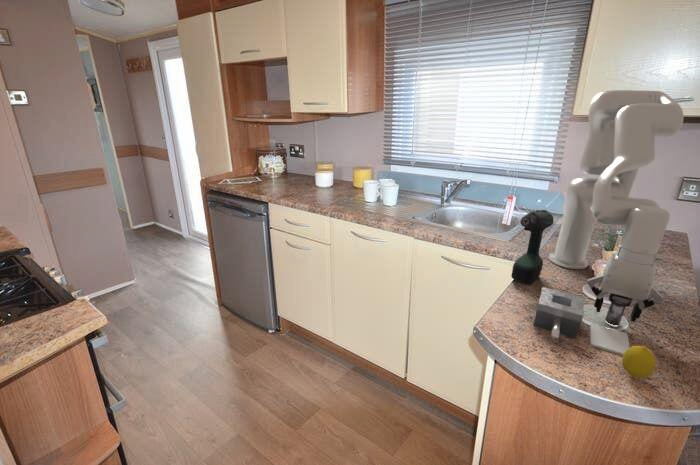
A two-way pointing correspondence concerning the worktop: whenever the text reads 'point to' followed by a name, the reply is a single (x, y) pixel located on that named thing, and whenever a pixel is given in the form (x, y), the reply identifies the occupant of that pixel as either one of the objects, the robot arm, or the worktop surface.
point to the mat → (608, 339)
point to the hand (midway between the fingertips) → (614, 314)
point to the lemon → (639, 361)
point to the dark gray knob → (617, 308)
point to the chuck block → (559, 313)
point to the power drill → (532, 247)
